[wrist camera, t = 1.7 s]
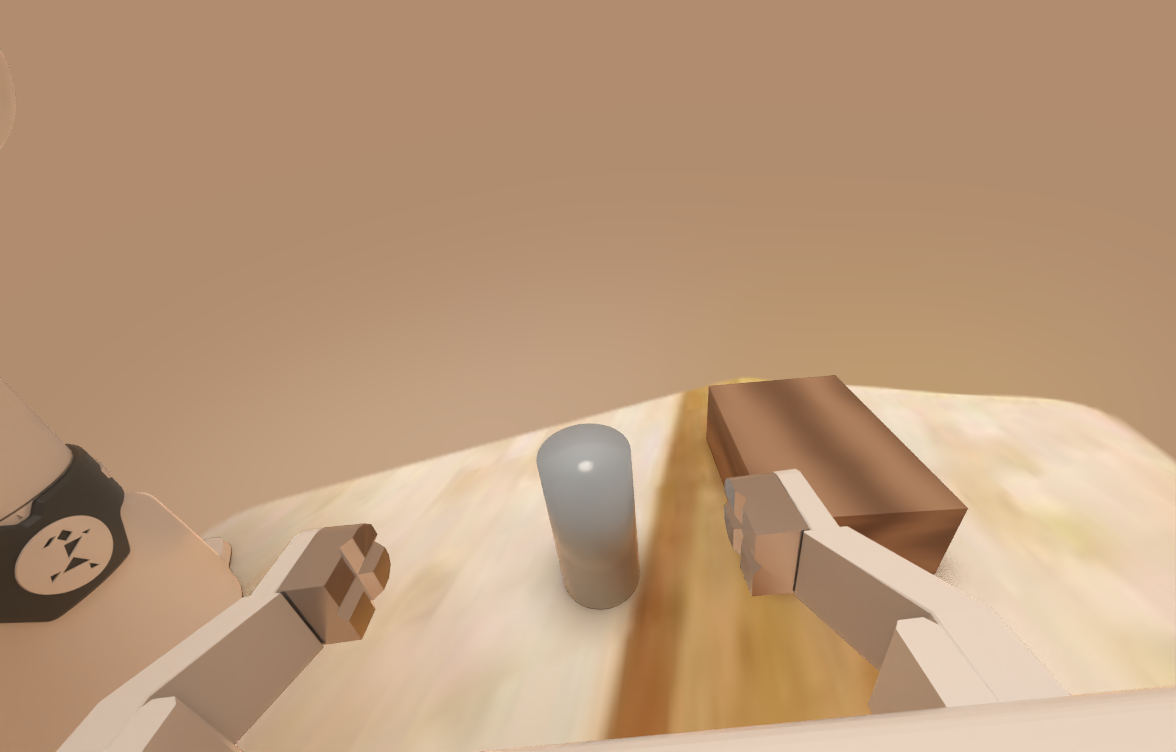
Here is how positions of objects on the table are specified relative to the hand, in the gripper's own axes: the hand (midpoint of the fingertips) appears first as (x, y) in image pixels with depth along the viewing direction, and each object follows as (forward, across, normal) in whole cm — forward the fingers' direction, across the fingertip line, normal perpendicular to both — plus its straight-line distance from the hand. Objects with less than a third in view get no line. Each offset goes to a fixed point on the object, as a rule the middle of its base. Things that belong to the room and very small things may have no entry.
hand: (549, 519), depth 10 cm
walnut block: (+18, -16, +19) cm, 30 cm away
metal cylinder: (+12, +1, +19) cm, 22 cm away
